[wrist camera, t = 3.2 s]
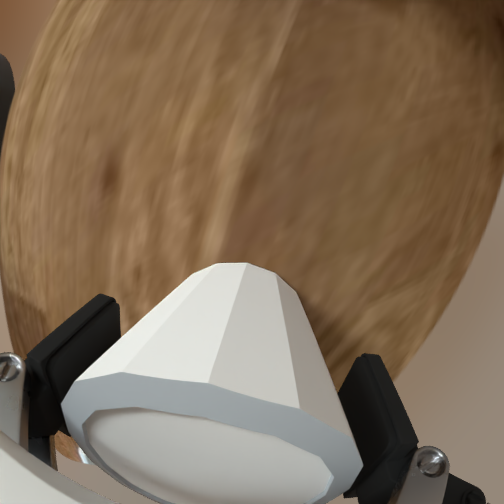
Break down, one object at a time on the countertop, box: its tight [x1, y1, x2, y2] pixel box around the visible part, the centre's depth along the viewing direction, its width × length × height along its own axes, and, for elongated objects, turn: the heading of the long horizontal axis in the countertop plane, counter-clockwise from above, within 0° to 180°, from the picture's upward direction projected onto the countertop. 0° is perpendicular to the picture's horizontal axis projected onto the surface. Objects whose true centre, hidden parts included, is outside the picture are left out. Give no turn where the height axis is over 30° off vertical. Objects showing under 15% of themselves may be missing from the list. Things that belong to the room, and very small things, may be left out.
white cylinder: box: [61, 263, 363, 504], centre depth 8 cm, size 7×7×7 cm
